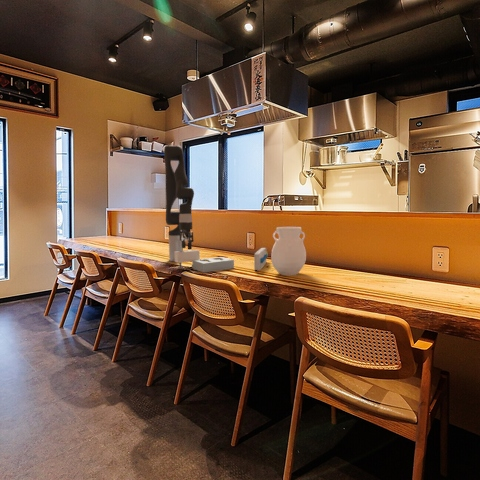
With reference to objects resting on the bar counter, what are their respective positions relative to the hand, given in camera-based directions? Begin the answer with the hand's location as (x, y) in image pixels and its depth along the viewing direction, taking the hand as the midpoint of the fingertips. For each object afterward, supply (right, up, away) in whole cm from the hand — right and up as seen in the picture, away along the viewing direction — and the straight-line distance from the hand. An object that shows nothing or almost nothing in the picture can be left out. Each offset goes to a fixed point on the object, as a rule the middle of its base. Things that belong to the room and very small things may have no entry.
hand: (186, 248), depth 205 cm
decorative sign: (+45, -11, +4) cm, 47 cm away
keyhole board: (+16, -12, -2) cm, 20 cm away
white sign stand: (0, -11, +2) cm, 12 cm away
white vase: (+58, -13, -20) cm, 62 cm away
